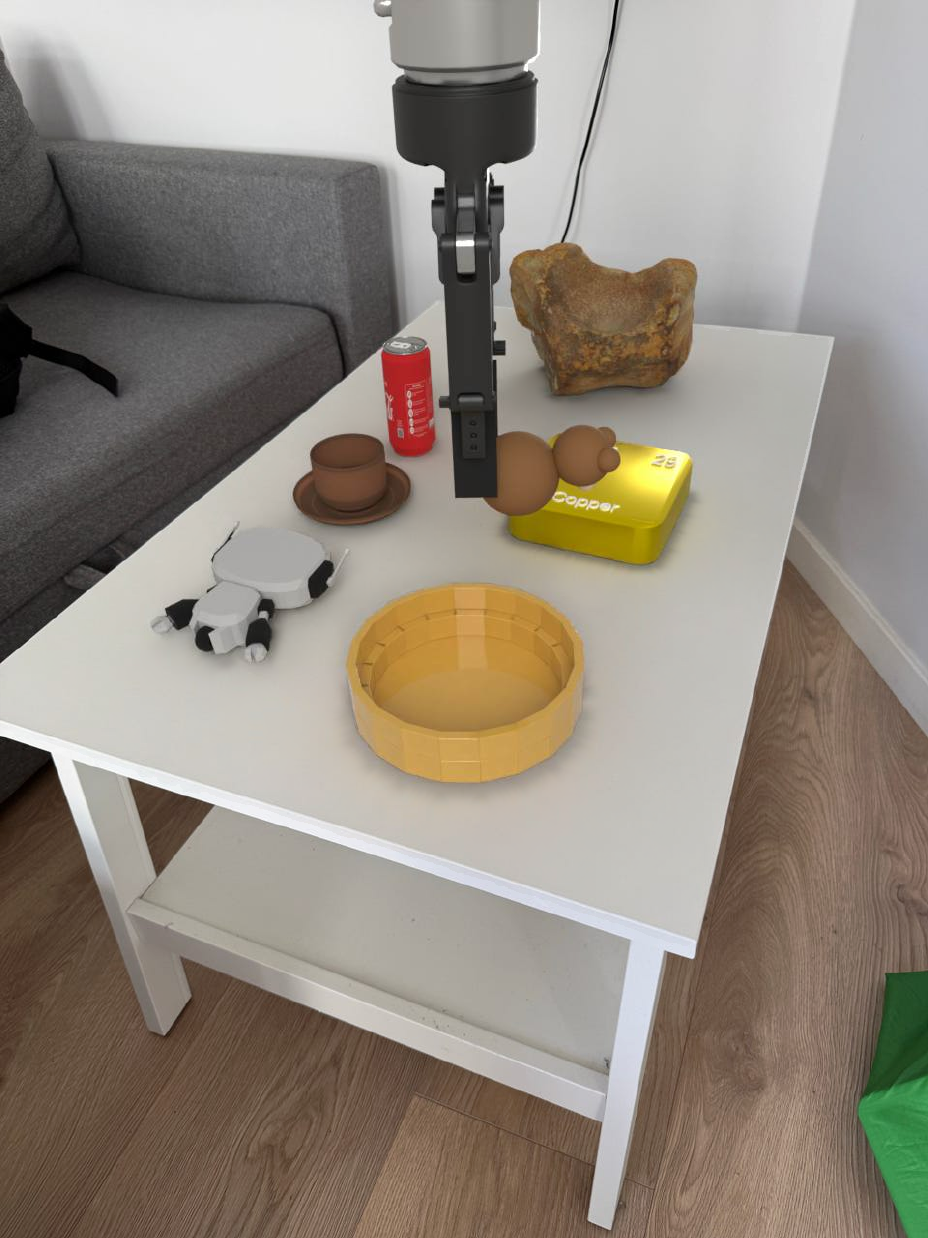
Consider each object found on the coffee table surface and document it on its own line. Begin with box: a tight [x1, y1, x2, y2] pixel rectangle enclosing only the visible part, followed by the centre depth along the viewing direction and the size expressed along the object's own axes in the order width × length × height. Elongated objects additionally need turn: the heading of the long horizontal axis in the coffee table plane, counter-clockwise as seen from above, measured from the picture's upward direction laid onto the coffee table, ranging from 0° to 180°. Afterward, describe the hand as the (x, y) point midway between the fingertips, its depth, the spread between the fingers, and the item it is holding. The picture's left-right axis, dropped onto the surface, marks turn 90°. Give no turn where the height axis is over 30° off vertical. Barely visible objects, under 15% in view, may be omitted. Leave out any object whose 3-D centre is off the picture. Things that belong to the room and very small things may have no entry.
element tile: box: [508, 432, 694, 565], centre depth 89 cm, size 15×15×5 cm
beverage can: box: [380, 335, 436, 458], centre depth 99 cm, size 5×5×12 cm
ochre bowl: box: [345, 582, 585, 784], centre depth 69 cm, size 17×17×5 cm
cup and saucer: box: [292, 432, 412, 526], centre depth 92 cm, size 12×12×6 cm
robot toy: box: [150, 520, 351, 663], centre depth 79 cm, size 12×4×15 cm
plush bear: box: [482, 424, 621, 516], centre depth 60 cm, size 6×6×10 cm
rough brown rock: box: [508, 241, 698, 397], centre depth 110 cm, size 23×17×15 cm
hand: (477, 471), depth 61 cm, fingers closed on plush bear, 5 cm apart
